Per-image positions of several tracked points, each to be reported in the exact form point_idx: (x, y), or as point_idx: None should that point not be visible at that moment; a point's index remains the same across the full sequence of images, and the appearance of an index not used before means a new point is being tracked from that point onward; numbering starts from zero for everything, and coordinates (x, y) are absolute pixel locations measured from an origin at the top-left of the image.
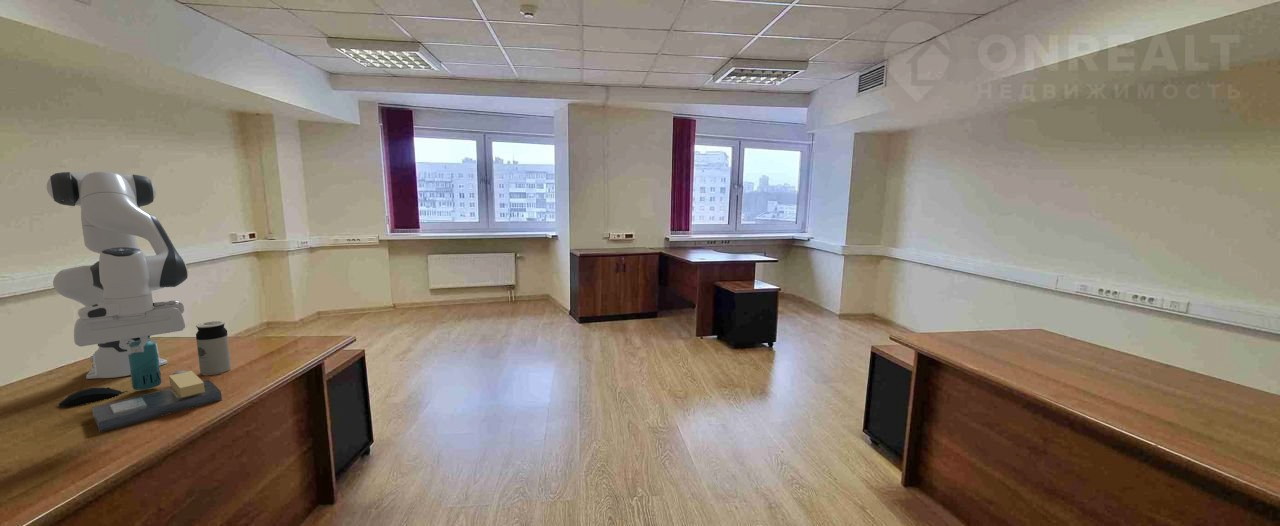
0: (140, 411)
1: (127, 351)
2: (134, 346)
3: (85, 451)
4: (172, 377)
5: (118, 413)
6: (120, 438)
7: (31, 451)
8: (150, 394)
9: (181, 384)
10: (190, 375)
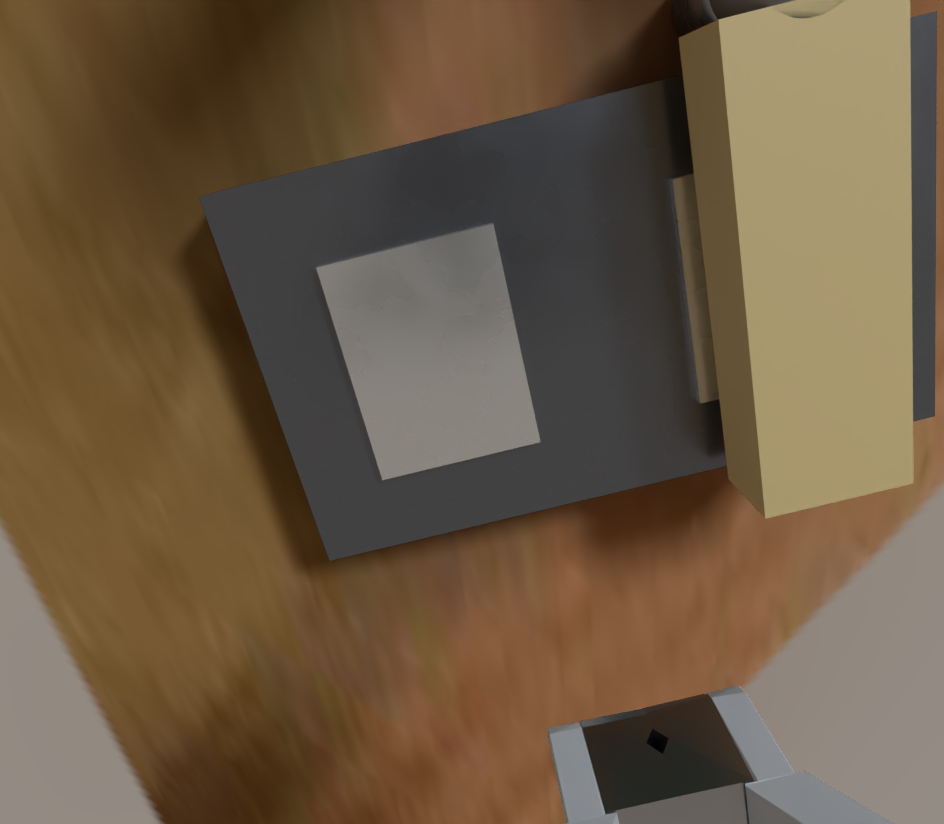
0: (513, 513)
1: (555, 769)
2: (677, 804)
3: (340, 723)
4: (740, 131)
5: (403, 477)
6: (446, 661)
7: (106, 588)
8: (539, 151)
9: (781, 428)
10: (872, 178)
